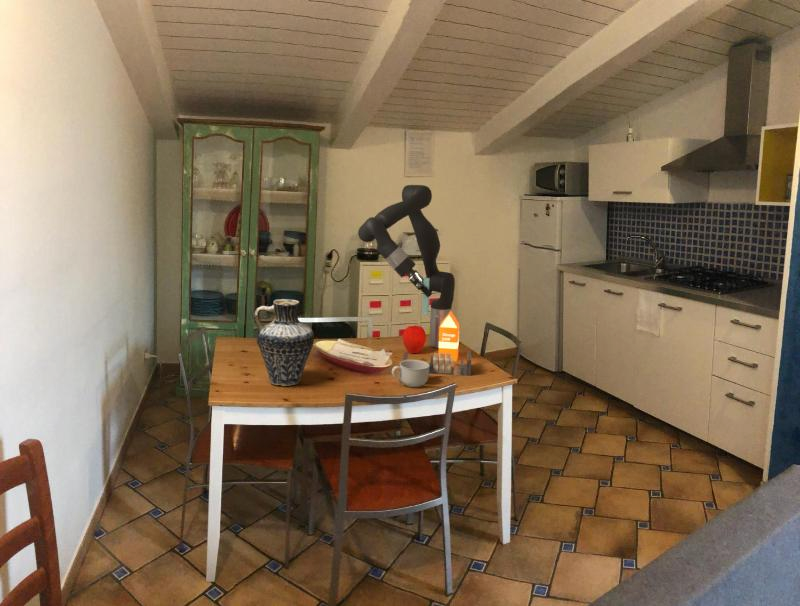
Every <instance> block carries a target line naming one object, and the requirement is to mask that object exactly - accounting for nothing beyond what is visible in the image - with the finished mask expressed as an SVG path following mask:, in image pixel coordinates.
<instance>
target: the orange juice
mask: <svg viewBox="0 0 800 606" xmlns="http://www.w3.org/2000/svg"><path fill="white" fill-rule="evenodd" d="M459 343H460V323H459V322H458V320H457V317H456V316H455V314H454V313H453V312H452V311H450V312H449V314H448V315H447V316H446V317H445V319H444V320H443V321H442V323H441V324H440V327H439V348H438V353H439V359H440V353H445V360H446V353H448V354H451V362H452V357H454V362H457V361H458V357H459V347H460V346H459V345H460V344H459Z"/></svg>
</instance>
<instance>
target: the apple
mask: <svg viewBox="0 0 800 606" xmlns="http://www.w3.org/2000/svg"><path fill="white" fill-rule="evenodd" d="M426 340H427V335H426V331H425V329H424V328H423V327H422V326H421V325H416V324H415V325H409V326H407V327H406V328H405V329H404V331H403V334H402V341H403V345H404V348H405V349H406V352H407V353H409V354H418V353H420V352H421V351H422V349H423V348H424V346H425V345H426Z"/></svg>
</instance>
